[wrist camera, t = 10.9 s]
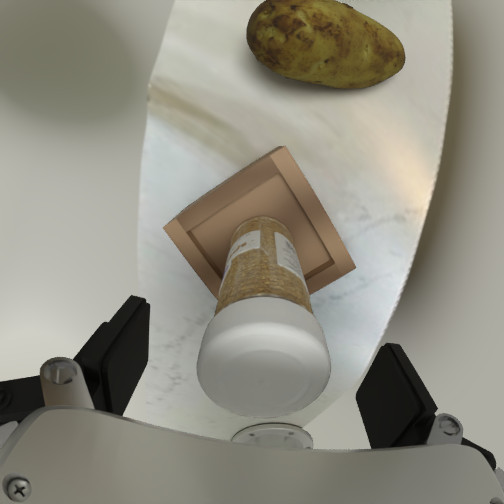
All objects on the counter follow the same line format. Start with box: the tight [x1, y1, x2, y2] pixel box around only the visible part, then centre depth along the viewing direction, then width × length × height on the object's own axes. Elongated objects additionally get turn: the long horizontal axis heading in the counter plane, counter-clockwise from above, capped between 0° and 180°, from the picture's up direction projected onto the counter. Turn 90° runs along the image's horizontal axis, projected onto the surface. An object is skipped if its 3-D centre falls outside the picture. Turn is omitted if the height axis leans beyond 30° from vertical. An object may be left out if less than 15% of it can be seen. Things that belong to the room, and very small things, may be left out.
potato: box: [247, 0, 405, 88], centre depth 18 cm, size 8×13×8 cm, turn 72°
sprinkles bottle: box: [197, 216, 331, 418], centre depth 15 cm, size 5×5×14 cm
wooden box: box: [163, 146, 356, 300], centre depth 24 cm, size 10×10×7 cm
